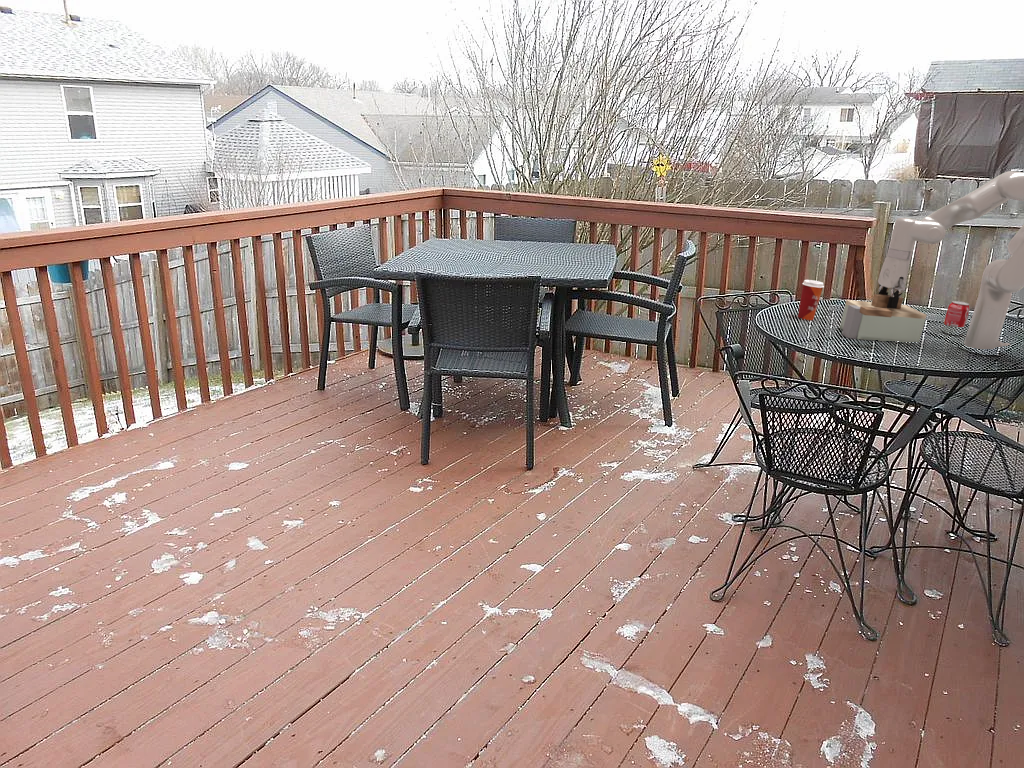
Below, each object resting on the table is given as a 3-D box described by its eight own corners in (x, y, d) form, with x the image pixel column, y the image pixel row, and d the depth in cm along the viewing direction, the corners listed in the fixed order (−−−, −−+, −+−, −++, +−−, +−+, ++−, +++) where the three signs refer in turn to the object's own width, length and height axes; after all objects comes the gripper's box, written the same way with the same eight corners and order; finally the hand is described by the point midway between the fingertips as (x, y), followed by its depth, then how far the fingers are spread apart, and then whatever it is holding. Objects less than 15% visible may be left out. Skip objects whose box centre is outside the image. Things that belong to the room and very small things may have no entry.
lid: (904, 309, 277) (908, 294, 275) (925, 319, 264) (929, 303, 262) (845, 304, 276) (849, 288, 274) (863, 313, 263) (867, 298, 261)
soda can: (957, 332, 290) (966, 301, 286) (965, 337, 284) (975, 305, 280) (937, 330, 291) (946, 299, 287) (945, 335, 284) (955, 303, 280)
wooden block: (885, 314, 257) (886, 308, 256) (891, 317, 253) (892, 311, 253) (859, 312, 257) (860, 306, 256) (864, 315, 253) (866, 309, 252)
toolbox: (898, 333, 280) (905, 305, 277) (918, 344, 267) (926, 314, 263) (831, 327, 279) (838, 299, 275) (848, 338, 265) (855, 308, 262)
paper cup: (812, 322, 284) (821, 284, 279) (792, 317, 288) (800, 280, 284) (819, 319, 290) (827, 282, 285) (798, 314, 294) (806, 278, 290)
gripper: (876, 249, 271) (864, 298, 277) (901, 258, 255) (887, 310, 261) (897, 251, 272) (884, 300, 278) (923, 260, 255) (909, 312, 261)
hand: (886, 305), depth 269 cm, fingers open, 6 cm apart
